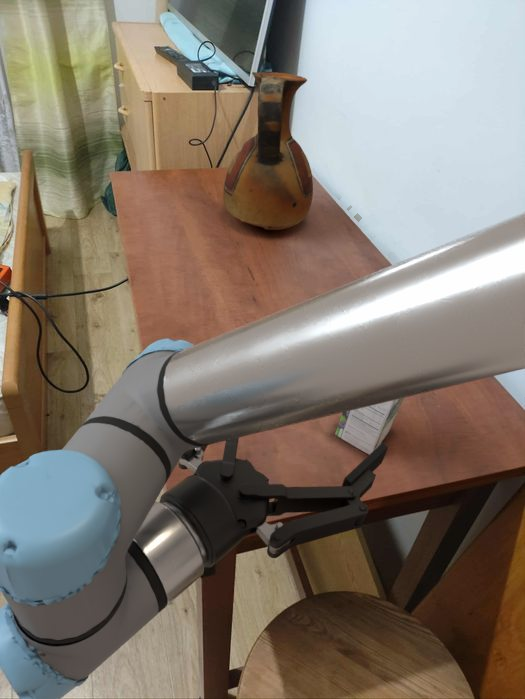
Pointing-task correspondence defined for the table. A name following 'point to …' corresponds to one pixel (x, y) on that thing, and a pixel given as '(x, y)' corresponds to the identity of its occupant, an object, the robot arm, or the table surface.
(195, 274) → the table surface
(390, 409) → the syrup box
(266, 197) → the ceramic pitcher
